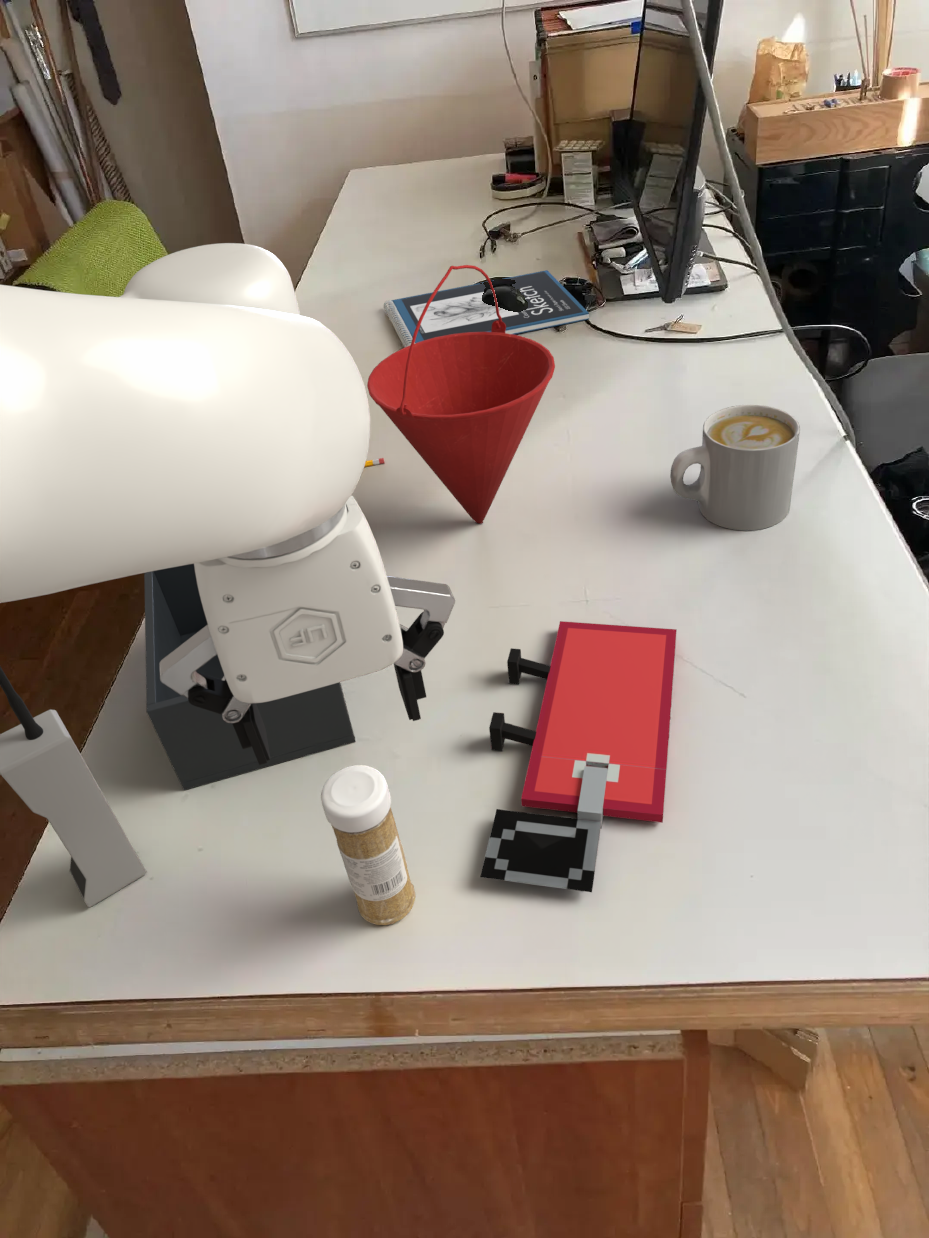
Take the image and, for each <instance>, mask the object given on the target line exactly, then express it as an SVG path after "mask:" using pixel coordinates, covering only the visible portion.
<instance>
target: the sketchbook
mask: <svg viewBox="0 0 929 1238" xmlns="http://www.w3.org/2000/svg"><path fill="white" fill-rule="evenodd" d="M503 279H511V280H515V282H516V283H515V284H512V286H513V287H515V289H519V291H520V292H521V294H522V295H524V297H525V300H526V301H527V302H528V308H527V309H526V310H523V311H521V312H513V311H508V310H505V309H503V308H500V307H498V308H499V314H500V316H501V318H502V322H504V323H505V325H506V331H505V333H507V334H513V335H519V334H523V333H529V332H533V331H538V330H542V329H548V328H553V327H560V326H563V325H569V324H572V323H577V322H583V321H588V320H590V312H589V311H588V310H587V309H586V308H585V307H584V306H583V305H582V304H581V303H580V302H579V301H578V300H577V299H576V298H575V297H574V296H573V295H572V294H571V293H570V292H569V290H567V289H566V288H565V286H564V285H562V284H561V282H559V280H557V278H556V277H555V276H554V275H553V274H551V272H550V271H549V270H548V269H546V270H541V271H535V272H531V273H530V272H529V273H525V274H520V275H514V276H510V277H505V278H503ZM484 282H485V281H484ZM484 282H478V283H474V284H473V283H472V284H469V285H468V284H467V285H463V286H457V287H453V288H447V289H443V290H438V291H437V293H436V295H435V296H434V298H433V300H432V301H431V303H430V305H429V307H428V309H427V311H426V313H425V315H424V317H423V319H422V322H421V325H420V327H419V330H418V333H417V336H416V339H415V343H418V342H421V341H424V340H428V339H431V338H435V337H440V336H445V335H450V334H458V333H467V332H491V330H492V323H493V322H494V321H497V320H499V318H498V317H497V314H496V307H495V306H492V305H488V304H486V303H484V302H483V301H482V295H483V293H484V289H485V288H486V287H485V285H484V284H483V283H484ZM480 283H482V284H480ZM433 292H434V291H432V292H431V291H430V292H427V293H422V294H417V295H412V296H406V297H402V298H396V299H389V300H388V299H387V300H385V301H384V303H383V309H384V310H385V313H386V314H387V316H388V319H389V320H390V322H391V325H392V326H393V328H394V330H395V332H396V334H397V336H398V338H399V340H400V342H401V344H402V346H403V348H405V347H407V346H410V345H411V342H412V338H413V335H414V332H415V329H416V326H417V324H418V321H419V318H420V316H421V314H422V312H423V310H424V308H425V306H426V303H427V302H428V300H429V298H430V297H431V295H432V293H433ZM500 328H501V327H500ZM415 343H414V344H415Z"/></svg>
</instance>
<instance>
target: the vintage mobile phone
mask: <svg viewBox="0 0 929 1238" xmlns="http://www.w3.org/2000/svg"><path fill="white" fill-rule="evenodd" d="M0 689H2V691H3V693H4V694H5V696H6V698H7V701H8V705H9V706H10V708H11V710H12V712H13V713H14V715H15V716H16V718H17V720H18V721H19V724H18V725H16V726H14V727H12V728H10V729H8V730H6V731H4V732H2V733H0V776H1V777H2V778H3V779H4V781H6V782H7V784H8V785H9V786H10V787H11V789H12V790H13V791H14V793H16V795H18V797H19V798H20V799H21V800H22V801H23V802H24V804H25V805H26V806H27V807H28V809H30V811H31V812H32V813H33V814H36V815H38V816H41V817H43V818H46V820H47V821H48V822H49V824H50V825H51V827H52V829H53V831H54V832H55V833H56V835H57V836H58V839H60V841H61V843H62V845H63V846H64V847H65V849H66V850H67V852H68V854H69V855H70V860H69V861H70V862H69V874H70V875H71V877H72V880H73V881H74V884H75V886H76V888H77V890H78V892H79V895H80V896H81V898H82V900H83V902H84V903H85V905H86V907H87V908H91V907H94V906H96V905H97V904H99V903H100V902H102V901H104V900H106V899H107V898H109V897H111V896H112V895H114V894H116V893H117V892H119V891H121V890H122V889H124V888H126V887H127V886H129V885H130V884H133V883H134V882H135V881H137V880H139V879H140V878H142V877H144V876H145V875H146V874H147V873H148V872H147V870H146V868H145V866H144V864H143V862H142V861H141V859H140V857H139V856H138V853H137V852H136V850H135V848H134V847H133V845H132V843H131V841H130V839H129V837H128V836H127V833H126V832H125V831H124V829H123V827H122V825H121V824H120V821H119V820H118V818H117V816H116V814H115V813H114V811H113V809H112V807H111V806H110V804H109V802H108V800H107V798H106V796H105V795H104V793H103V791H102V790H101V788H100V786H99V785H98V782H97V781H96V779H95V778H94V776H93V774H92V772H91V770H90V768H89V767H88V765H87V763H86V761H85V759H84V758H83V756H82V754H81V752H80V751H79V749H78V747H77V745H76V744H75V741H74V740H73V738H72V736H71V735H70V733H69V731H68V730H67V728H66V725H65V724H64V722H63V720H62V719H61V717H60V716H59V713H58V711H57V710H55V709H48V710H46V711H44V712H41V713H40V714H38V715H36V716H34V717H33V715H32V714H31V712H30V710H29V708H28V707H27V705H26V704H25V702H24V700H23V698H22V697H21V696H20V695H19V694H18V693H17V692H16V690H15V689H14V687H13V685H12V683H11V682H10V680H9V678H8V676H7V675H6V673H5V672H4V670H3V668H2V666H1V665H0Z"/></svg>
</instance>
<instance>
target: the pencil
mask: <svg viewBox="0 0 929 1238" xmlns="http://www.w3.org/2000/svg"><path fill="white" fill-rule="evenodd" d="M379 465H385V458H384V457H381V458H375V459H374V458H373V459H370V460H366V462H365V466H364V468H367V467H374V466H379Z"/></svg>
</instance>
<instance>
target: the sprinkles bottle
mask: <svg viewBox="0 0 929 1238" xmlns="http://www.w3.org/2000/svg"><path fill="white" fill-rule="evenodd" d="M389 788H390V787H389V785H388V782H387V779H386V778H385V776H384V774H383V773H382V772H381V771H379V770H378V769H376V768H375V767H372V766H370V765H365V764H355V765H349V766H346V767H343V768H341V769H339V770H337V771H335V772H334V773H333V774H332V775H331V776H329V778H327V780H326V782H325V783H324V785H323V786H322V789H321V793H320V801H321V807H322V809H323V812H324V815H325V819H326V820H327V822H328V823H329V824H330V826H331V827H332V830H333V833H334V837H335V839H336V845H337V848H338V850H339V854H340V856H341V860H342V863H343V865H344V868H345V871H346V875H347V878H348V880H349V885H350V887H351V889H352V890H353V894H354V896H355V899H356V903H357V904H356V905H357V910H358V912H359V915H360V916H361V917H362V918H363V919H364V920H365V921H366V922H367V923H370V924H374V925H376V926H387V925H388V926H389V925H392V924H395V923H397V922H399V921H402V919H404V918H405V917H406V916H408V914H409V913H410V912H411V910H412V908H413V906H414V904H415V900H416V890H415V887H414V884H413V882H411V881H412V880H411V877H410V874H409V868H408V862H407V858H406V854H405V850H404V846H403V843H402V840H401V839H400V835H399V831H398V827H397V824H396V821H395V817H394V813H393V811H392V796H391V792H390V789H389Z"/></svg>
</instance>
